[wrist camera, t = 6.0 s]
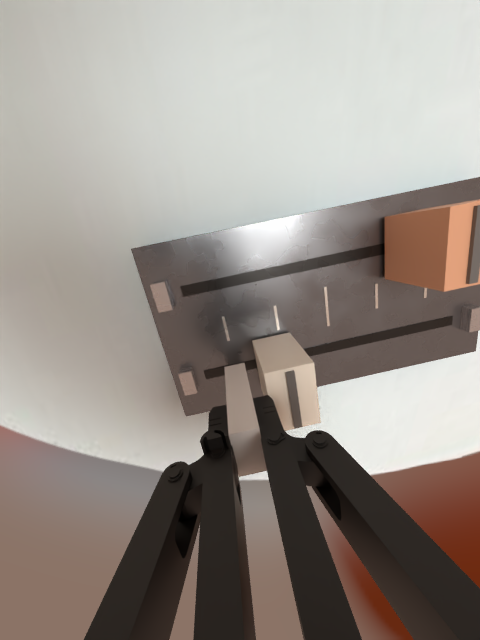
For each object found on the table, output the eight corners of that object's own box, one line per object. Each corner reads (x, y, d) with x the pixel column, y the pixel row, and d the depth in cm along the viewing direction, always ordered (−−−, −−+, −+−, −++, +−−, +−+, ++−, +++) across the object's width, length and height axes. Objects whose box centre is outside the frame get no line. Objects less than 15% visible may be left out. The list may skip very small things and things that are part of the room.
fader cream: (261, 388, 20) (275, 435, 15) (252, 340, 19) (264, 375, 14) (296, 380, 20) (321, 424, 15) (289, 332, 19) (315, 364, 14)
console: (188, 401, 23) (184, 422, 20) (140, 248, 18) (126, 249, 15) (454, 342, 23) (485, 355, 21) (469, 180, 19) (511, 170, 16)
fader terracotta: (384, 279, 18) (447, 292, 13) (384, 216, 17) (454, 206, 12) (422, 270, 18) (499, 281, 13) (425, 208, 17) (512, 194, 12)
